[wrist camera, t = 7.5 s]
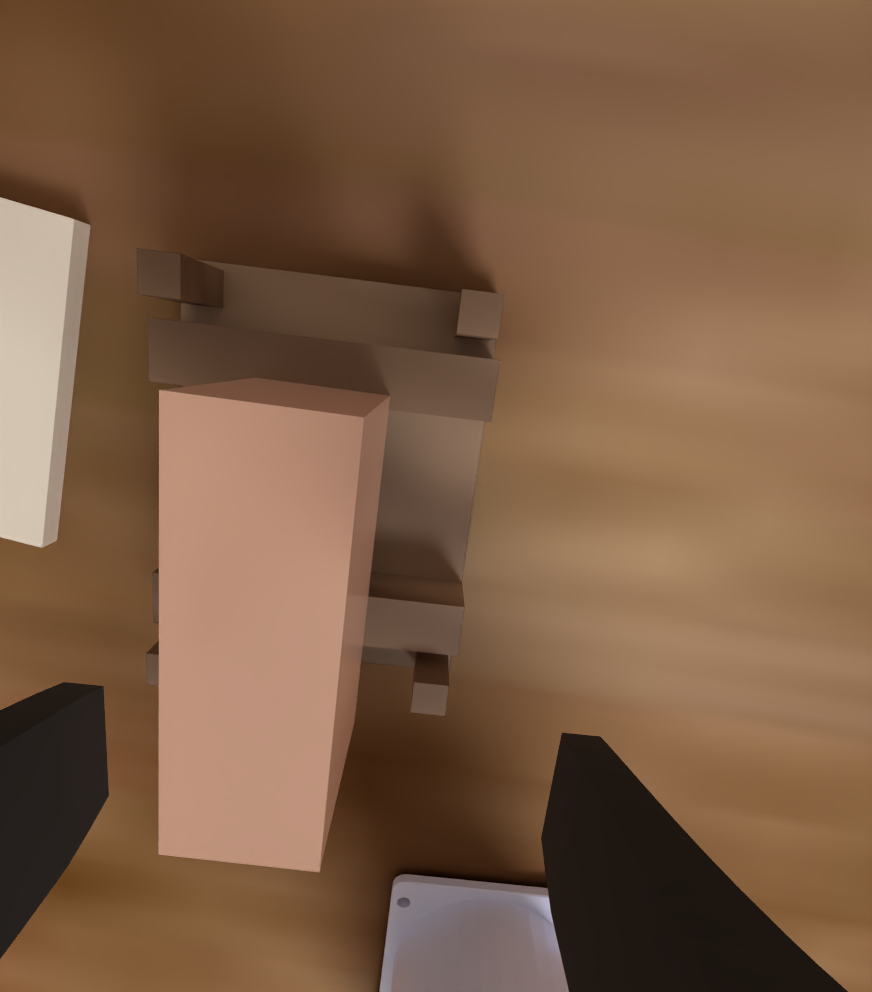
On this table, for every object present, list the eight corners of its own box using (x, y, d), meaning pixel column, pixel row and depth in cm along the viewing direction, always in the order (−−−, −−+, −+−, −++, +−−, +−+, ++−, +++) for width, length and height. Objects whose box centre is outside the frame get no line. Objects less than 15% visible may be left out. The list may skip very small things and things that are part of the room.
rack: (449, 658, 19) (451, 722, 16) (192, 630, 19) (140, 689, 15) (498, 300, 16) (514, 286, 13) (193, 262, 16) (128, 237, 12)
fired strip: (67, 535, 18) (41, 547, 17) (-37, 508, 18) (-69, 519, 17) (100, 228, 16) (74, 219, 15) (-19, 194, 16) (-55, 181, 15)
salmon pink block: (354, 720, 17) (319, 872, 12) (241, 707, 16) (158, 854, 12) (390, 395, 14) (364, 417, 9) (256, 377, 14) (159, 389, 9)
